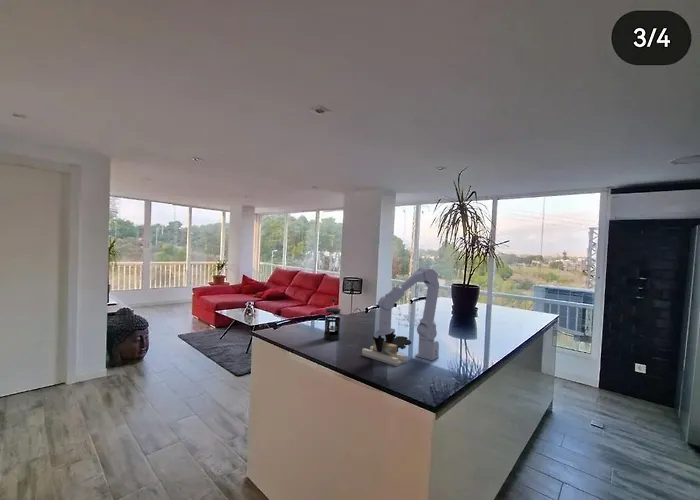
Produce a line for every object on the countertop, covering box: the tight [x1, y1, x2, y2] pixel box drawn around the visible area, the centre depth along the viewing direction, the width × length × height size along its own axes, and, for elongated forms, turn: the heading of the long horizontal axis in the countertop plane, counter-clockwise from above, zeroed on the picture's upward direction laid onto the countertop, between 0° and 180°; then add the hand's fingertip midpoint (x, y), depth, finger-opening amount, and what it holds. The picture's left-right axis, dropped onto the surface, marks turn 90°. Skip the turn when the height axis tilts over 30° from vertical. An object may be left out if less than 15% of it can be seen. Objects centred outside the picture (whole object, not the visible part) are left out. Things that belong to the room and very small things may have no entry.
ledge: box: [361, 345, 407, 367], centre depth 156 cm, size 20×8×3 cm, turn 48°
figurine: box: [383, 335, 412, 353], centre depth 183 cm, size 16×1×30 cm
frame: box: [372, 340, 398, 358], centre depth 156 cm, size 12×3×6 cm, turn 48°
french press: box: [323, 298, 342, 342], centre depth 187 cm, size 12×9×23 cm
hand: (383, 350), depth 156 cm, fingers open, 7 cm apart
